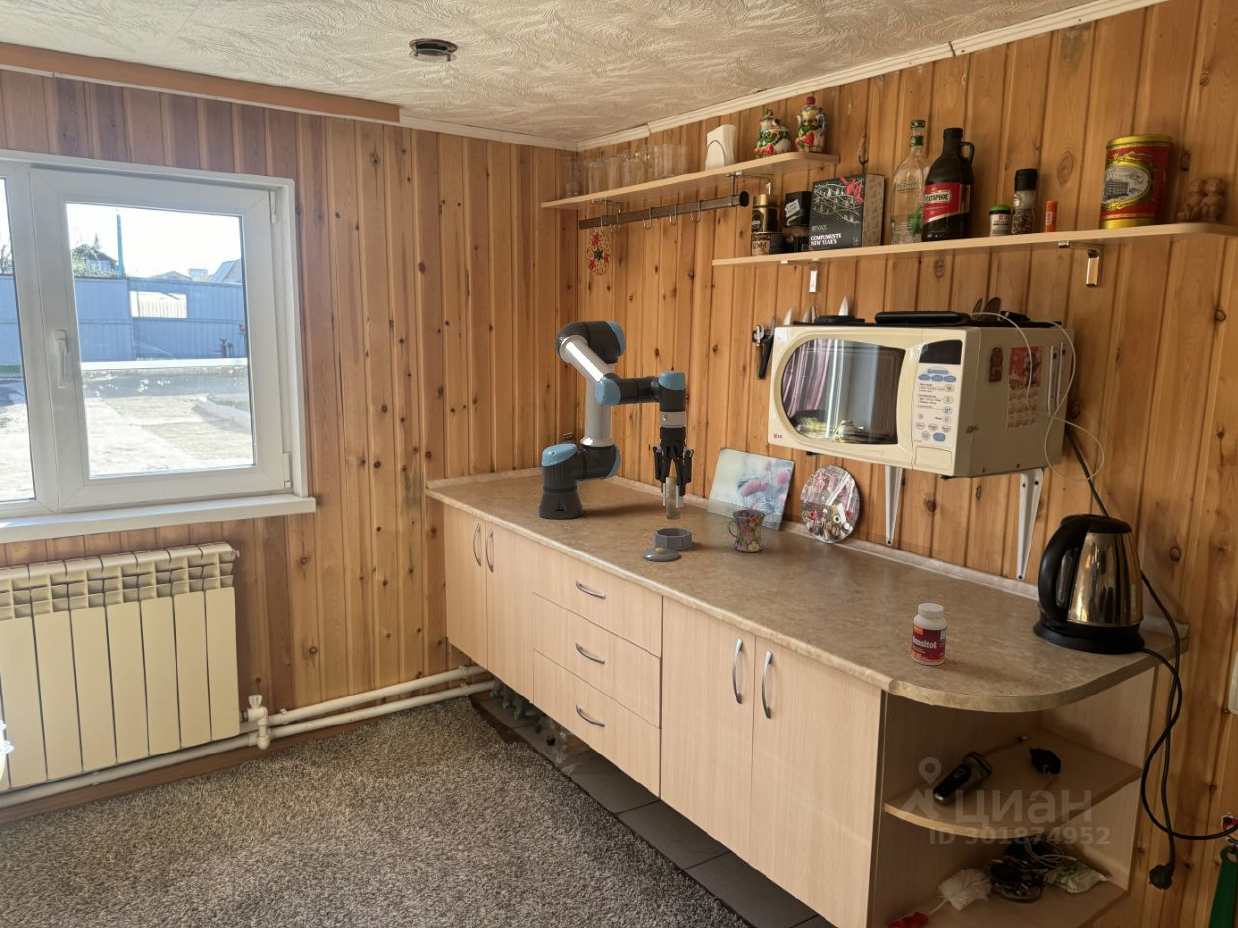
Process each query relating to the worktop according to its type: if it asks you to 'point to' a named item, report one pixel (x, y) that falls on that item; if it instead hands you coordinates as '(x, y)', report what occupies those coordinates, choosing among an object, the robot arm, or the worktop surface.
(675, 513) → the dowel
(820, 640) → the worktop surface
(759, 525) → the mug
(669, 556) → the jar lid
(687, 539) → the candle jar
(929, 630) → the pill bottle
